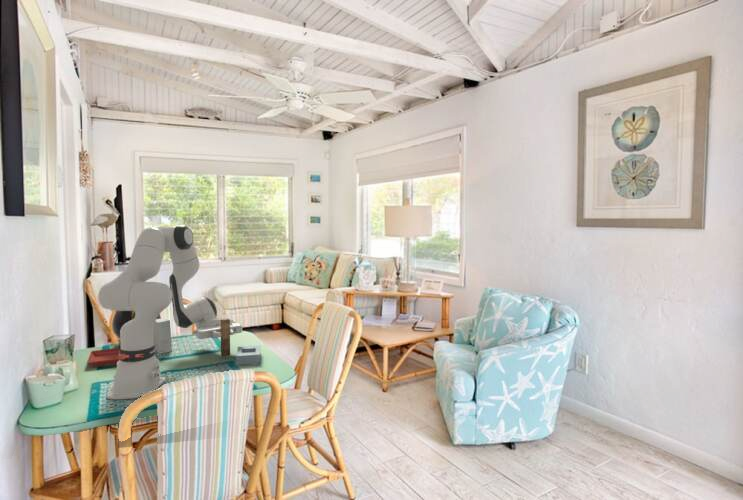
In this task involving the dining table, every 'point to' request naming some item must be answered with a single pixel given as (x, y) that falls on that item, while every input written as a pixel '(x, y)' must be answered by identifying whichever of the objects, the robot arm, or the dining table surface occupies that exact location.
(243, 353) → the socket block
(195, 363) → the dining table surface
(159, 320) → the skincare box
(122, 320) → the amphora vase
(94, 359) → the plant saucer
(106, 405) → the dining table surface
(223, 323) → the walnut dowel
